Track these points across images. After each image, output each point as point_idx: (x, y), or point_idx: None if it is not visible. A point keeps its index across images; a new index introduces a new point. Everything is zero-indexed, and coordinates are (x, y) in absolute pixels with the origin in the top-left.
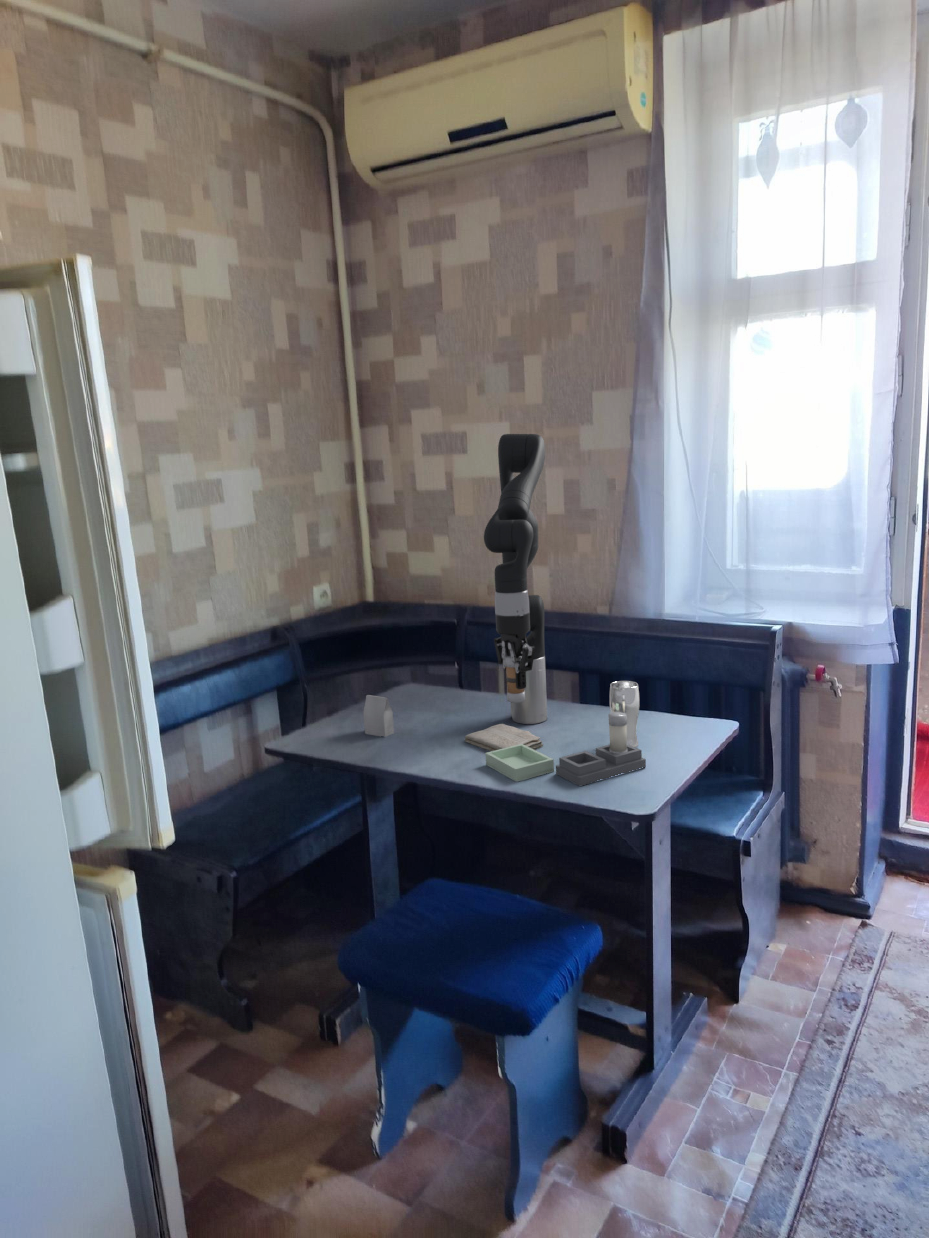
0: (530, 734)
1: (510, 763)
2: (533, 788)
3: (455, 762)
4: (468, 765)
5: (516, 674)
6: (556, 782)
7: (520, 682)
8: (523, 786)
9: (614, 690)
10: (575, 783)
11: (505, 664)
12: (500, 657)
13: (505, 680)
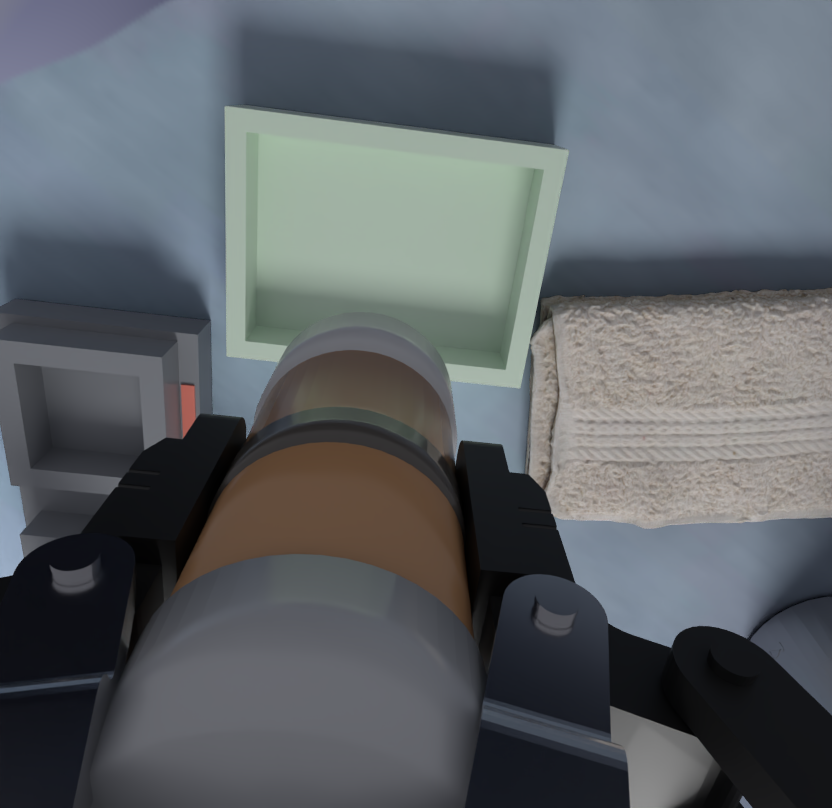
0: (614, 509)
1: (435, 226)
2: (113, 112)
3: (725, 30)
4: (626, 60)
5: (147, 523)
6: (119, 253)
7: (140, 474)
8: (166, 90)
9: None
10: (51, 303)
11: (504, 634)
12: (743, 756)
13: (503, 463)
